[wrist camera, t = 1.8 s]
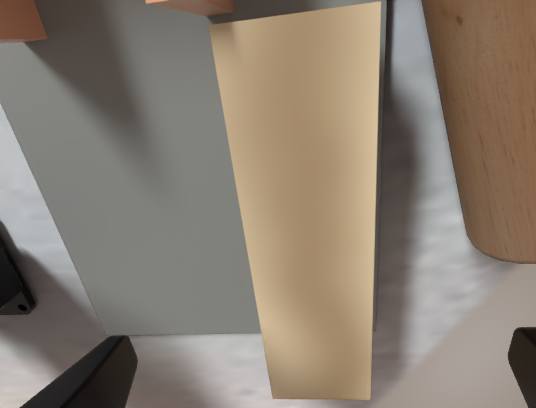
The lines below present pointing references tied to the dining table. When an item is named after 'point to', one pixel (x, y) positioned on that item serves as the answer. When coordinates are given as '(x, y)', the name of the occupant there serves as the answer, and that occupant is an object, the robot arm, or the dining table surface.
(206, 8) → the u-shaped bracket
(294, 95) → the wooden building block
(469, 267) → the dining table surface
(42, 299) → the dining table surface
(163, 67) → the board
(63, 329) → the dining table surface
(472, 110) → the tan wooden pieces
